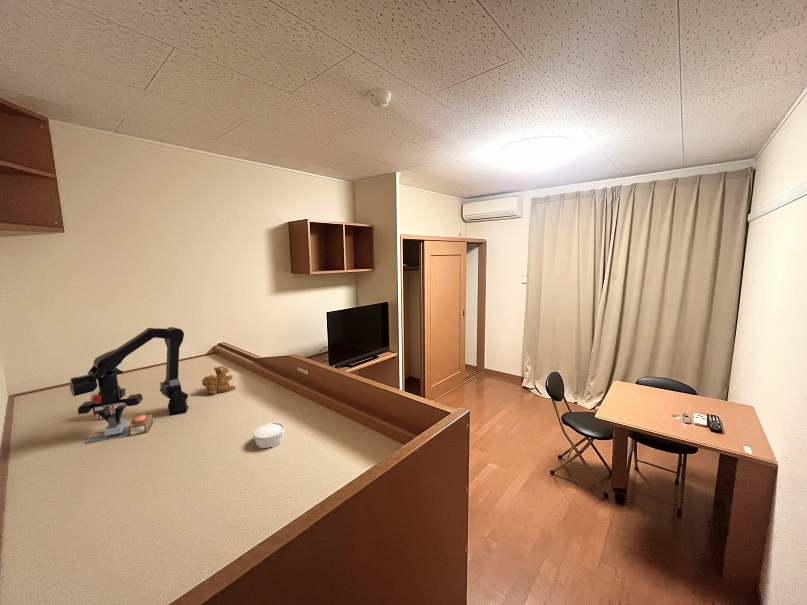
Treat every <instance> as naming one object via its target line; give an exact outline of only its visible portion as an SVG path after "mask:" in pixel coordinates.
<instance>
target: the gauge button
mask: <svg viewBox="0 0 807 605" xmlns="http://www.w3.org/2000/svg"><path fill="white" fill-rule="evenodd" d="M146 416H147V415H146V414H140V415H136V416H134V417H132V418H133V419H132V421H133V420H134V423H140V422H143V421H145V420H146Z"/></svg>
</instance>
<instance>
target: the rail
mask: <svg viewBox="0 0 807 605" xmlns="http://www.w3.org/2000/svg"><path fill="white" fill-rule="evenodd" d="M125 437H129V433H128V426H126V427H125V429H124V430H123V433H119V434H114V435H108V436H105V433H104V430H103V431H99V432H97V431H96V432H94V433H93V434H90V435H89V436H88V439H87V440H86V441H85V445H89V444H94V443H98V442H104V441H108V440H114V439H120V438H125Z"/></svg>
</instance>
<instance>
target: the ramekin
mask: <svg viewBox="0 0 807 605" xmlns="http://www.w3.org/2000/svg"><path fill="white" fill-rule="evenodd" d="M285 430H286V427H285V424H283V423H281V422H279V421H276V422H274V421H273V422H267V423H264V424H261V425H259V426H258V427H256V428H255V429H254V430H253V432H252V436H253V438H254V440H255V444H256V447H258V448H260V449H263V448H268V449H270V448H269V447H272V448H274V447H273V446H275V445H277V444H279V443H280V442H281V441H282V442H283V440H284V435H285ZM282 442H281V443H282ZM281 443H280V444H281ZM280 444H279V445H280ZM277 446H278V445H277ZM275 447H276V446H275Z"/></svg>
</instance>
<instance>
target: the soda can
mask: <svg viewBox="0 0 807 605" xmlns="http://www.w3.org/2000/svg"><path fill="white" fill-rule="evenodd" d="M99 392H100V391H99V389H98V390H96V391H95V390H94V391H92V392H91V396H90V401H95V400H96V401H97V402H98V403H100V402H101V397H100V395H98V393H99ZM115 409H116V408H115V405H113V406H110V414H112V413H115ZM94 412H95V408H94V409H92V413H93V418H94V419H96V420H105V419H104V418H103V417H102V416H100V415H99V414H95V413H94Z"/></svg>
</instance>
